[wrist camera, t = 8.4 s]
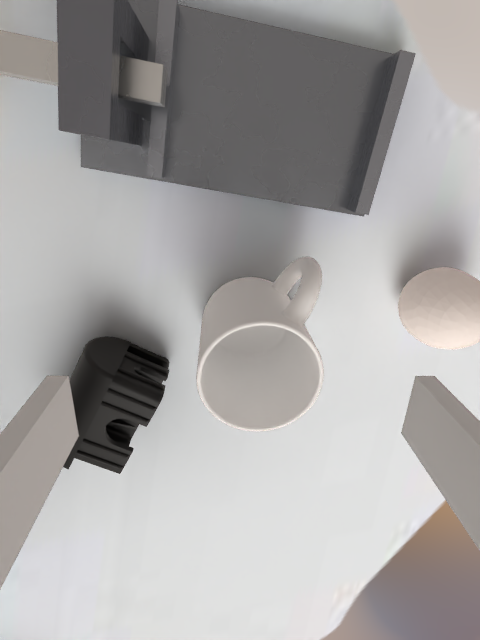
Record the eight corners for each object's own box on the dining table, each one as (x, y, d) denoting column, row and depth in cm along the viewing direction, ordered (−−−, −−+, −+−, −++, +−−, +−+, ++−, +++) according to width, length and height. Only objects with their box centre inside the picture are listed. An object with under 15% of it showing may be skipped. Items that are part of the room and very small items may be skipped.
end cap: (100, 323, 33) (73, 361, 27) (173, 356, 35) (164, 398, 29) (62, 407, 36) (30, 458, 30) (131, 433, 38) (114, 486, 32)
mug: (261, 217, 30) (280, 243, 21) (339, 271, 32) (389, 317, 23) (185, 331, 34) (172, 398, 24) (259, 373, 36) (275, 449, 26)
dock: (86, 166, 28) (22, 169, 19) (88, -10, 24) (8, -116, 15) (358, 214, 30) (419, 237, 21) (401, 62, 26) (499, 9, 17)
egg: (369, 296, 33) (412, 334, 26) (426, 242, 32) (488, 266, 24) (413, 338, 35) (463, 384, 28) (468, 289, 34) (538, 324, 26)
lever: (-57, 76, 24) (-177, 39, 17) (-63, 28, 23) (-193, -34, 16) (171, 121, 26) (152, 105, 18) (174, 77, 25) (157, 42, 17)
